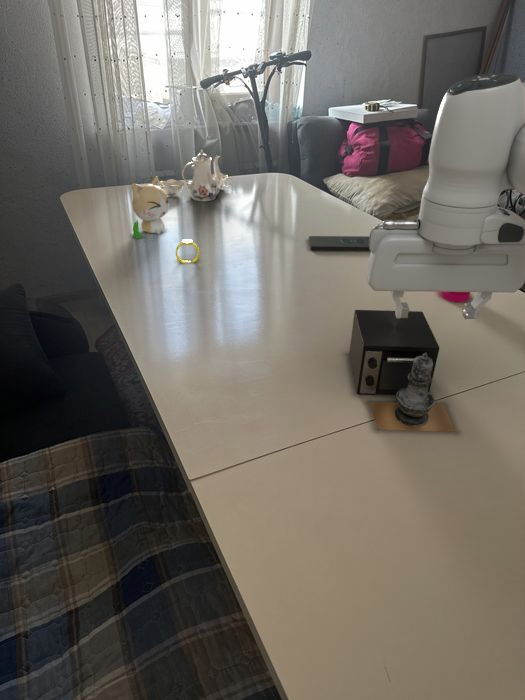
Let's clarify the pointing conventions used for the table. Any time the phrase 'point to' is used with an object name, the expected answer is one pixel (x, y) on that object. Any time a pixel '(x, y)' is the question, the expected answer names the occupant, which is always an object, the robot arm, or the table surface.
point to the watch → (187, 242)
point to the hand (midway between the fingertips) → (434, 317)
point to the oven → (388, 349)
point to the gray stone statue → (416, 394)
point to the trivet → (388, 421)
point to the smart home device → (339, 243)
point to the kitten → (149, 207)
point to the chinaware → (198, 180)
